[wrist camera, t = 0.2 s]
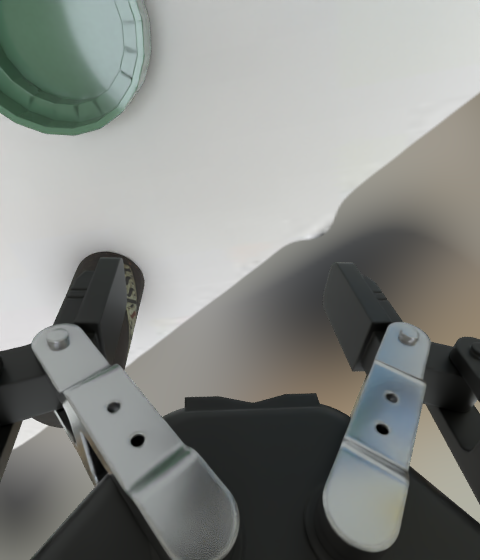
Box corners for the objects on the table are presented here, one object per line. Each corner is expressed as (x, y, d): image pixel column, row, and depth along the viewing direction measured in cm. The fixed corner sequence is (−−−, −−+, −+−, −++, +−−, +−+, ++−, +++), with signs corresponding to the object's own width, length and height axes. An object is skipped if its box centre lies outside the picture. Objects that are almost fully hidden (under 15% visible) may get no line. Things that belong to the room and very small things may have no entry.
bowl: (-65, -108, 27) (-123, -138, 22) (146, -78, 29) (136, -99, 24) (-4, 114, 35) (-35, 128, 30) (155, 125, 37) (149, 140, 32)
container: (142, 307, 51) (117, 440, 35) (74, 298, 49) (14, 434, 32) (149, 256, 46) (125, 381, 30) (75, 243, 44) (5, 371, 28)
